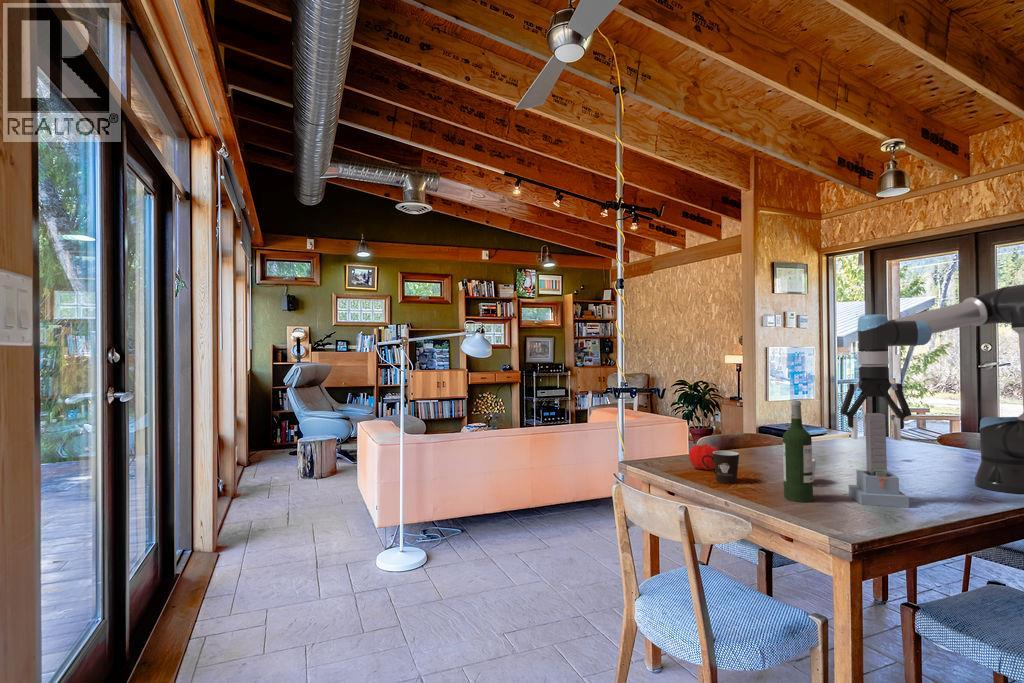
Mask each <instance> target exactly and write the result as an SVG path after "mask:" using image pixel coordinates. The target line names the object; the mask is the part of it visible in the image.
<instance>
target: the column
mask: <svg viewBox="0 0 1024 683" xmlns="http://www.w3.org/2000/svg"><path fill="white" fill-rule="evenodd" d="M864 415H865V420H864V421H865V450H866V451H865V452H866V454H865V455H866V471H867V475H869V476H876V472H886V476H887V471H888V467H887V466H888V459H887V432H886V431H887V430H886V414H884V413H880V412H879V413H877V412H874V413H873V412H872V413H871V412H865V413H864Z"/></svg>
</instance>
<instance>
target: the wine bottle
mask: <svg viewBox="0 0 1024 683" xmlns="http://www.w3.org/2000/svg"><path fill="white" fill-rule="evenodd" d="M801 406H802V402H801V400H794V399H793V400H791V402H790V407H791V409H790V410H791V413H790V414H791V415H790V418H791V419H790V421H791V422H790V427H789V428H788V429H787V430H786V431H785V432H784V433H783V434H782V461H783V462H782V463H783V464H782V466H783V469H782V470H783V471H782V472H783V496H784V498H785V500H788V501H791V502H796V503H810V502H813V501H814V487H813V486H814V481H813V475H812V459H813V448H812V447H813V445H812V436H811V434H810V432H808V431H807V430H806V429H805V428H804V426H803V419H802V407H801Z"/></svg>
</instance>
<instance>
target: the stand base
mask: <svg viewBox="0 0 1024 683" xmlns="http://www.w3.org/2000/svg"><path fill="white" fill-rule="evenodd" d="M855 475H856V484H848V485H847V487H848V495H849V496H850V497H851V498H852V499H854V500H855V501H857V503H858V504H860V505H863V506H877V507H880V506H881V507H895V508H910V496H909V495H907V494H905V493H903V492H902V491H901V490H900V480H899V478H900V477H898V476H897V475H895V474H893V473H891V472H889V471H888V470H887V476H886V472H876V476H869V475H867V470H865V469H864V470H862V469H861V470H860V469H856V474H855Z"/></svg>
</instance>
